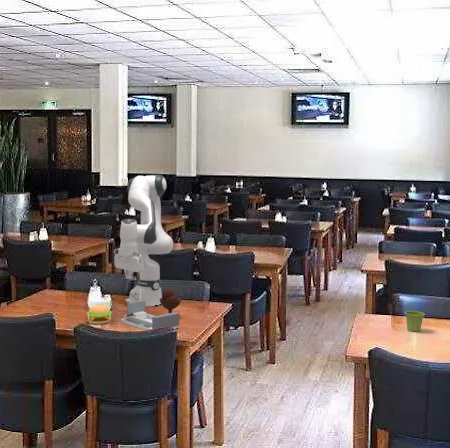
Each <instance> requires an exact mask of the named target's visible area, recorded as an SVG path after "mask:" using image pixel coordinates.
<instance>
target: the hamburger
mask: <svg viewBox="0 0 450 448" xmlns="http://www.w3.org/2000/svg"><path fill="white" fill-rule="evenodd" d="M86 315H88V316H89V319H88V322H89V323H90V324H92V325H105V324H108V323H109V322H110V319H111V318H110V316H111V315H112V311H111V309H110V308H109V307H108V306H107V305H105V304H96V305H93V306H92V307H90V308H89V310H88V311H87V313H86Z"/></svg>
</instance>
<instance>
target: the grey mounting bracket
mask: <svg viewBox="0 0 450 448" xmlns="http://www.w3.org/2000/svg"><path fill="white" fill-rule="evenodd" d="M120 322H121V323H123V324H125V325H128V326H132V327H135V328H138V329H141V330H144V331H147V330H150V329H156V328H161V327H167V326H170V327H178V326H179V327H180V312H172V313H169V314H168V313H164V314H159V315H152V314H150V313H147V318H145V319H141V318H138V317H134V316H127V313H126V314H124V318H121V319H120Z"/></svg>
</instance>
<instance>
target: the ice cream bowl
mask: <svg viewBox="0 0 450 448" xmlns="http://www.w3.org/2000/svg"><path fill="white" fill-rule="evenodd" d="M161 293H162V298H160V303H161V305H162V306H163V308H165V309H167V310H168V313H167V314H169V313H173V310H175V309H176V308H177V307H178V306H179V305H180V304H181V302H182V299H181V298H180V297H178V294H177V293H176V292H175V291H174V290H173V289H172V288H166V289H164V290H163V291H162V292H161ZM161 305H160V306H161Z"/></svg>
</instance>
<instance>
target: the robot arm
mask: <svg viewBox="0 0 450 448" xmlns="http://www.w3.org/2000/svg"><path fill="white" fill-rule="evenodd" d="M126 187H127V188H126V189H127V192H128V197H127V198H128V199H127V200H128V204H129V205H130V207H132V208H133V209H135V210H137V211H140V224H138V222H137V220H136V219H134V218H125V219H123V220H121V221H120V223H121V224H120V229H119V238H120V245H119V248H115V249H114V250H113V253H114V267H115V268H118V269H121V270H124V274H125V279H127V280H132V279H133V275H134V273H139V278H138V279H136V281H137V284H136V286H134V287H133V288H132V289H131V290H130V292H129V297H128V298H126V299H124V302H126V301H127V302H126V303H128V302H129V303H130V302H136V301H141V300H145V301H146V307H156V306H155V305H158V306H160V305H159V304H161V303H160V298H162V296H163V295H162V293H163V292H162V287H160V286H161V282H162V281H161V278H160V276H161V273H160V272H161V271H160V270H161V269H160V268H161V267H160V264H159V262H157V261H156V260H154V259H151V258H150V257H149V255H166V254H169V253H171V251H172V250H173V249H174V241H173V237H171V236H170V235H169V234H167V233H166V231H165V230H164V228H163V226H162V216H161V215H162V207H161V206H162V205H161V197H162V196H163V194H165V192H166V190H167V181H166V178H165V177H164V176H163V175H160V174H156V175H145V176H144V175H137V176H135V177H133V178H130V179H128V181H127V184H126Z"/></svg>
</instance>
